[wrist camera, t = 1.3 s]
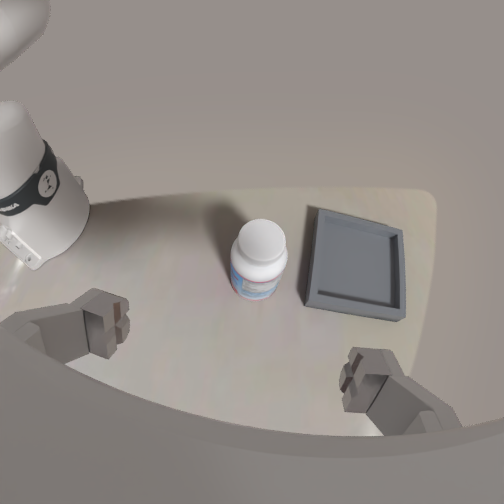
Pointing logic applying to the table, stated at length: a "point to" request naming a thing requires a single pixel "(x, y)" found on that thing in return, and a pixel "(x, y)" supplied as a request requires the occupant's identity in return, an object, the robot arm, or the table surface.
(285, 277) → the table surface
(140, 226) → the table surface
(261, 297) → the pill bottle
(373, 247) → the tray
